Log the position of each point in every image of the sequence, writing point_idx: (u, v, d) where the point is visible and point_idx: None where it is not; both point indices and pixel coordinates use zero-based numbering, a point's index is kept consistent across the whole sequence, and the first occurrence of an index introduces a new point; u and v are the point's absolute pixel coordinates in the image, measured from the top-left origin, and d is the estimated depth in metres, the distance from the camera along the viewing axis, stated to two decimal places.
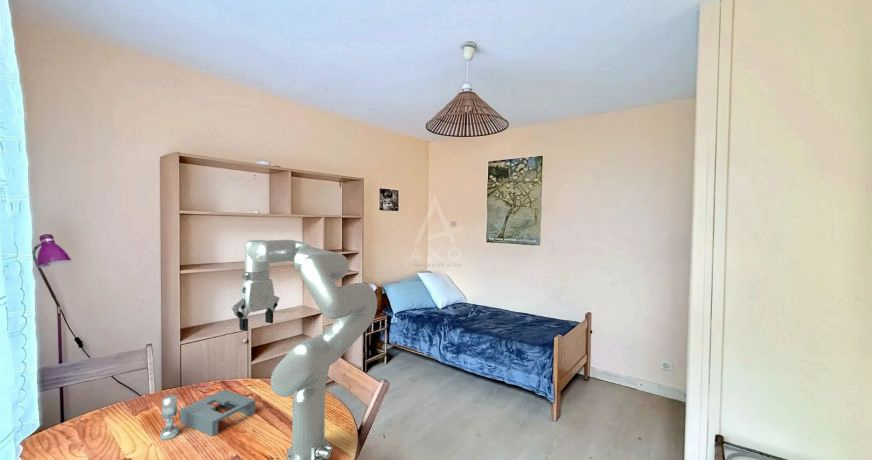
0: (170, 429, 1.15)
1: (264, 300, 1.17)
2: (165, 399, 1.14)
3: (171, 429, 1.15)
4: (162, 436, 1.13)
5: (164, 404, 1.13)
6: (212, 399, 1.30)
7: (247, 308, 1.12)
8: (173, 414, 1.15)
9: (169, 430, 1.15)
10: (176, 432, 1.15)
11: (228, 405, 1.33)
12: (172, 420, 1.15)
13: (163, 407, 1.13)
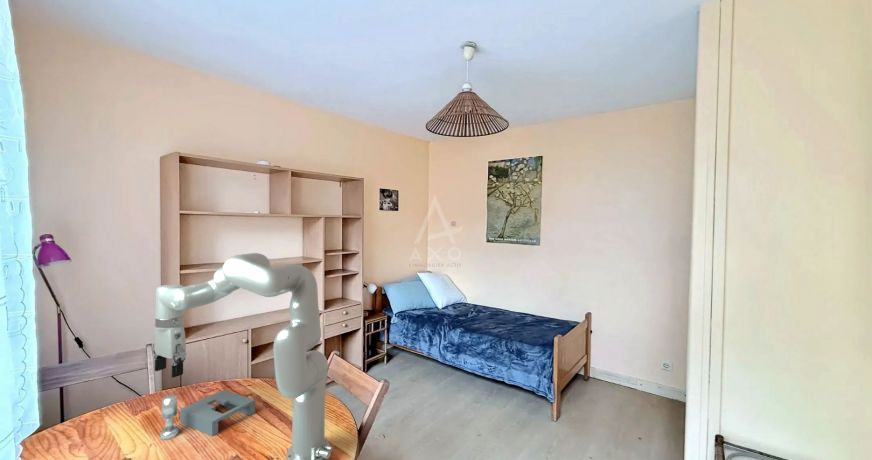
0: (170, 429, 1.15)
1: None
2: (165, 399, 1.14)
3: (171, 429, 1.15)
4: (162, 436, 1.13)
5: (164, 404, 1.13)
6: (212, 399, 1.30)
7: None
8: (173, 414, 1.15)
9: (169, 430, 1.15)
10: (176, 432, 1.15)
11: (228, 405, 1.33)
12: (172, 420, 1.15)
13: (163, 407, 1.13)
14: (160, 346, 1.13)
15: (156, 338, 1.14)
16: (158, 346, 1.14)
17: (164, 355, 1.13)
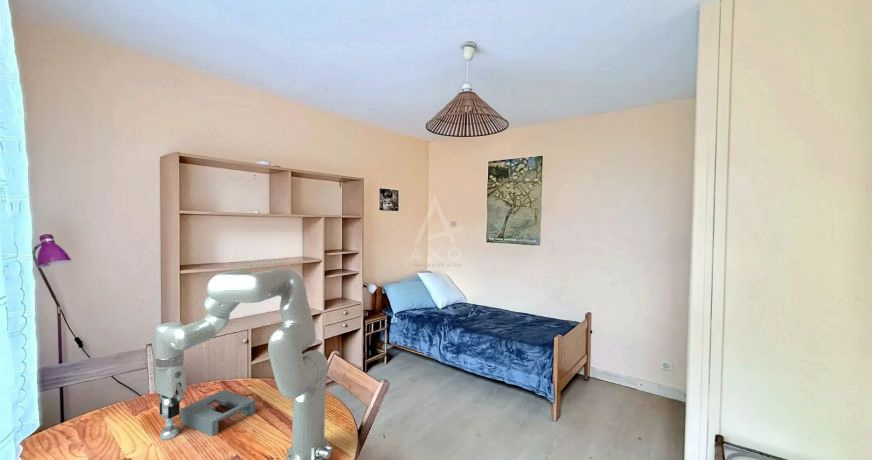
0: (170, 429, 1.15)
1: None
2: (165, 399, 1.14)
3: (171, 429, 1.15)
4: (162, 436, 1.13)
5: (164, 404, 1.13)
6: (212, 399, 1.30)
7: (184, 389, 1.15)
8: None
9: (169, 430, 1.15)
10: (176, 432, 1.15)
11: (228, 405, 1.33)
12: (172, 420, 1.15)
13: (163, 407, 1.13)
14: (161, 385, 1.13)
15: (156, 377, 1.14)
16: (159, 385, 1.14)
17: (165, 394, 1.13)
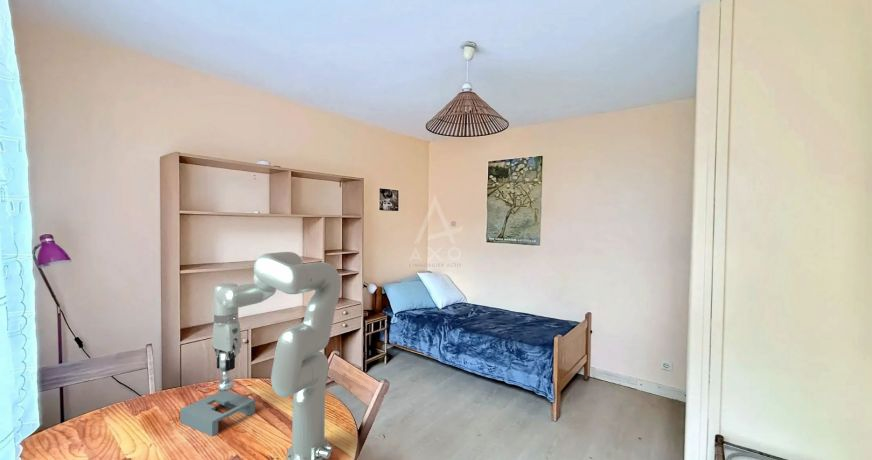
0: (226, 381, 1.24)
1: None
2: (222, 353, 1.23)
3: (227, 381, 1.24)
4: (220, 387, 1.22)
5: (222, 358, 1.23)
6: (212, 399, 1.30)
7: (240, 345, 1.24)
8: None
9: (226, 382, 1.24)
10: (232, 384, 1.25)
11: (228, 405, 1.33)
12: (228, 373, 1.25)
13: (221, 361, 1.23)
14: (218, 340, 1.22)
15: (214, 333, 1.23)
16: (216, 340, 1.23)
17: (222, 349, 1.22)
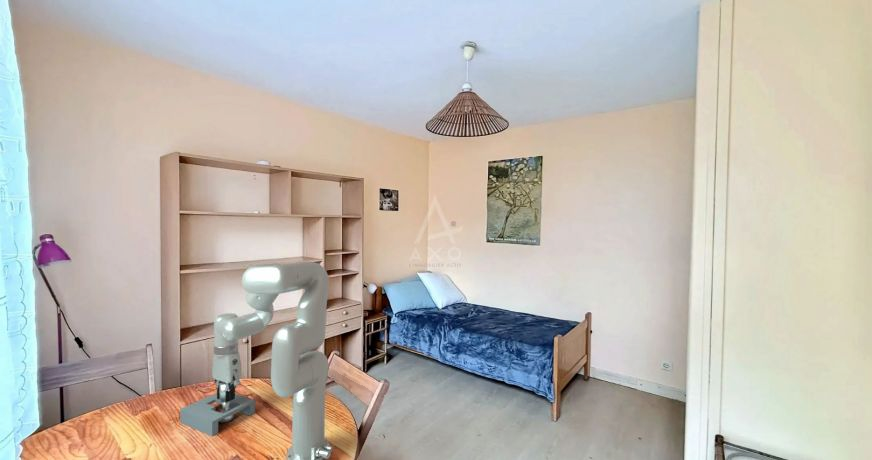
0: None
1: None
2: (222, 385, 1.23)
3: None
4: None
5: (222, 389, 1.23)
6: (212, 399, 1.30)
7: (240, 376, 1.24)
8: None
9: None
10: (232, 415, 1.25)
11: None
12: (228, 404, 1.25)
13: (221, 392, 1.23)
14: (218, 371, 1.22)
15: (214, 364, 1.24)
16: (216, 371, 1.23)
17: (223, 380, 1.22)
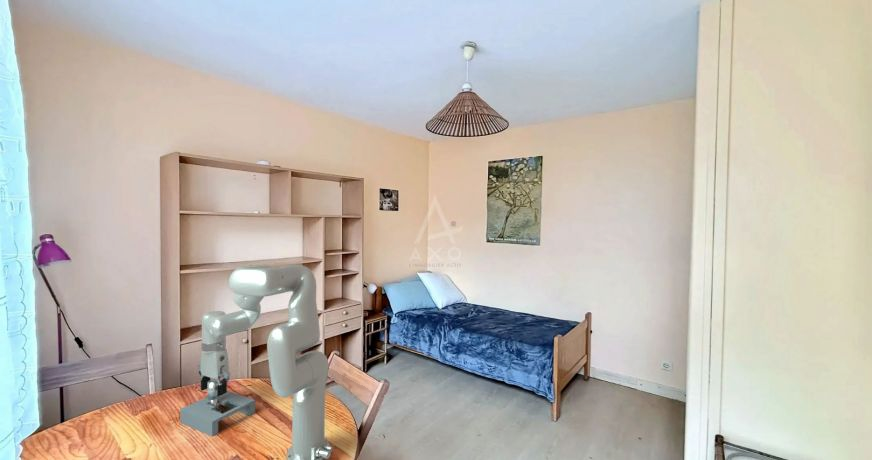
0: (214, 410, 1.27)
1: None
2: (210, 383, 1.26)
3: (215, 410, 1.27)
4: None
5: (209, 387, 1.26)
6: None
7: None
8: (217, 396, 1.27)
9: None
10: (220, 412, 1.28)
11: (228, 405, 1.33)
12: (216, 402, 1.28)
13: (208, 390, 1.26)
14: (206, 368, 1.25)
15: (202, 360, 1.27)
16: (204, 367, 1.26)
17: (210, 376, 1.25)
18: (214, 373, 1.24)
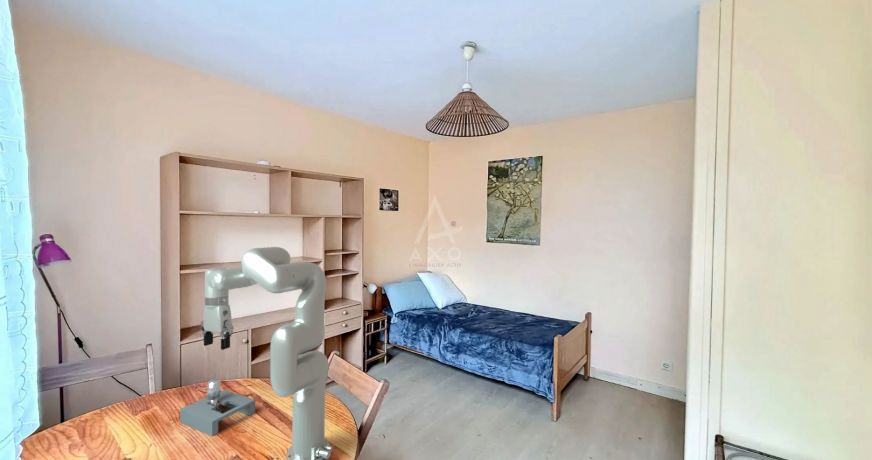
0: (214, 410, 1.27)
1: None
2: (210, 383, 1.26)
3: (215, 410, 1.27)
4: None
5: (209, 387, 1.26)
6: None
7: None
8: (217, 396, 1.27)
9: None
10: (220, 412, 1.28)
11: (228, 405, 1.33)
12: (216, 402, 1.28)
13: (208, 389, 1.26)
14: (209, 322, 1.27)
15: (205, 315, 1.28)
16: (207, 322, 1.27)
17: (213, 330, 1.26)
18: (217, 327, 1.25)
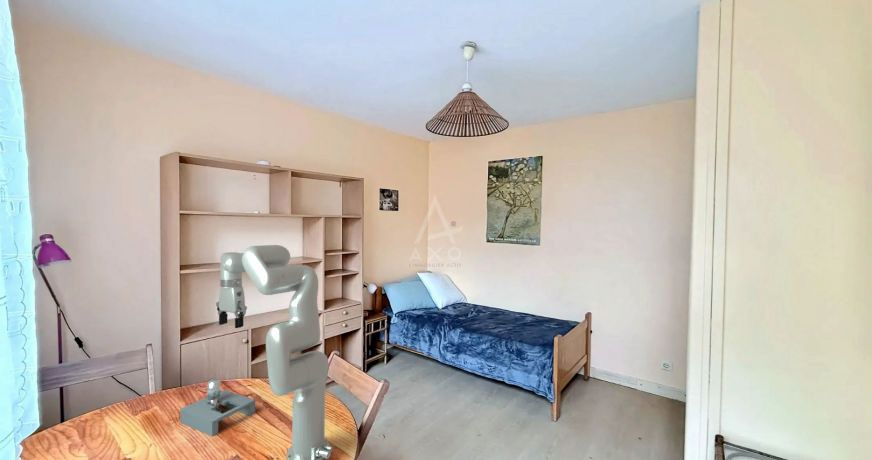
0: (214, 410, 1.27)
1: None
2: (210, 383, 1.26)
3: (215, 410, 1.27)
4: None
5: (209, 387, 1.26)
6: None
7: None
8: (217, 396, 1.27)
9: None
10: (220, 412, 1.28)
11: (228, 405, 1.33)
12: (216, 402, 1.28)
13: (208, 389, 1.26)
14: (224, 303, 1.36)
15: (220, 296, 1.37)
16: (222, 303, 1.37)
17: (228, 310, 1.36)
18: (232, 307, 1.35)
